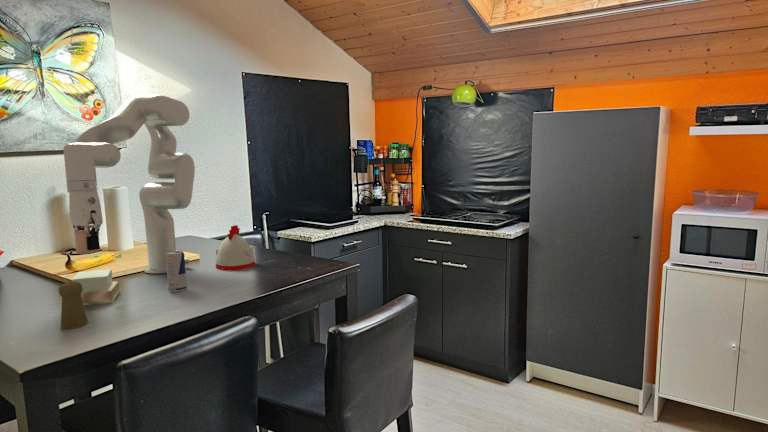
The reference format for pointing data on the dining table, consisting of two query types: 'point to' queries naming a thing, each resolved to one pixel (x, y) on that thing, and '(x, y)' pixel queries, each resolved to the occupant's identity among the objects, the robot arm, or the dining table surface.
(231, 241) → the white beanie hat
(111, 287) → the tower base
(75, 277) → the tower top
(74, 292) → the olive pepper mill
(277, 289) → the dining table surface
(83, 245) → the pink cube
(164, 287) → the dining table surface
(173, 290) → the energy drink
